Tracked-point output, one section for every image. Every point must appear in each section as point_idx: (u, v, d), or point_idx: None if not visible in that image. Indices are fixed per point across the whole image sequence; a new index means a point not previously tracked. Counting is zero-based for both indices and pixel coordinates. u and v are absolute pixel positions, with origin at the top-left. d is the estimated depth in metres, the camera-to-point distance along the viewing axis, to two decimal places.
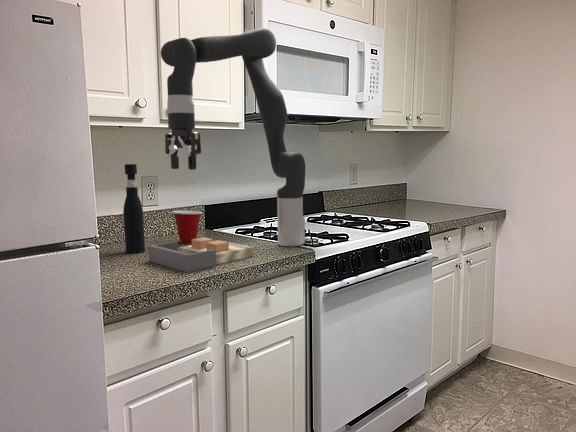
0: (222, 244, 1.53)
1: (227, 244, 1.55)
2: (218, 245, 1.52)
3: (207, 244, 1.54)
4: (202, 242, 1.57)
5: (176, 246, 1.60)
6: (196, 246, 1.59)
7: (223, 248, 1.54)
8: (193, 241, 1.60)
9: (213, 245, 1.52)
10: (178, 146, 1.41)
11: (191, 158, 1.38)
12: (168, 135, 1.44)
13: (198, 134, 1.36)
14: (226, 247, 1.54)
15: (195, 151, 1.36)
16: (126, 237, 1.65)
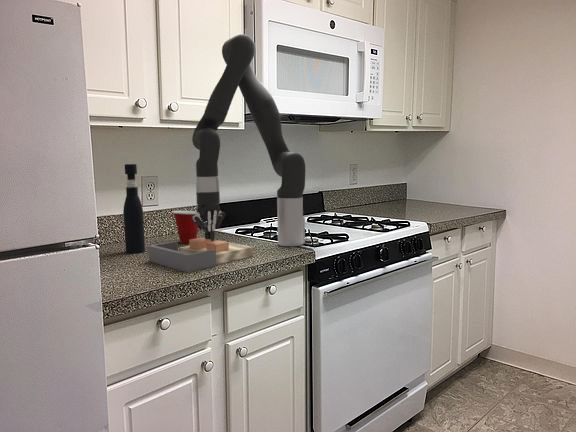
0: (222, 244, 1.53)
1: (227, 244, 1.55)
2: (218, 245, 1.52)
3: (207, 244, 1.54)
4: (200, 242, 1.57)
5: (176, 246, 1.60)
6: (194, 246, 1.58)
7: (223, 248, 1.54)
8: (191, 241, 1.59)
9: (213, 245, 1.52)
10: None
11: (213, 232, 1.63)
12: None
13: None
14: (226, 247, 1.54)
15: None
16: (126, 237, 1.65)
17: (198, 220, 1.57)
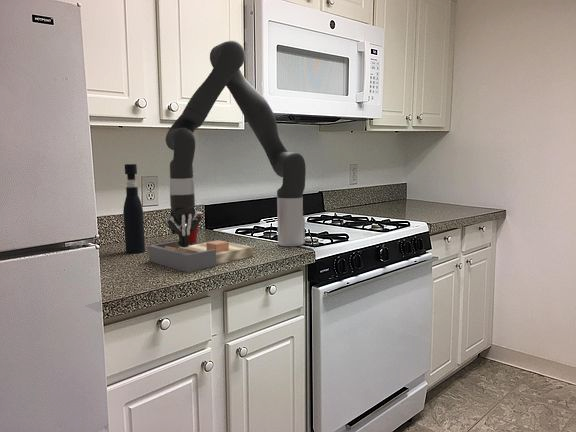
0: (222, 244, 1.53)
1: (227, 244, 1.55)
2: (218, 245, 1.52)
3: (207, 244, 1.54)
4: None
5: (176, 246, 1.60)
6: None
7: (223, 248, 1.54)
8: None
9: (213, 245, 1.52)
10: None
11: (188, 237, 1.55)
12: None
13: None
14: (226, 247, 1.54)
15: None
16: (126, 237, 1.65)
17: (171, 224, 1.50)
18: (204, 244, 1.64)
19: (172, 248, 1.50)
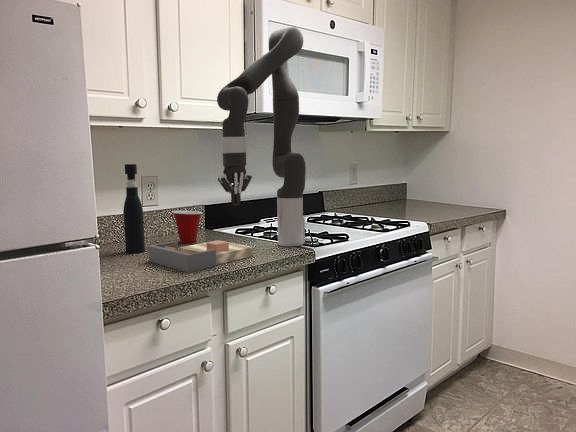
0: (222, 244, 1.53)
1: (227, 244, 1.55)
2: (218, 245, 1.52)
3: (207, 244, 1.54)
4: None
5: (176, 246, 1.60)
6: None
7: (223, 248, 1.54)
8: None
9: (213, 245, 1.52)
10: None
11: (239, 195, 1.59)
12: None
13: None
14: (226, 247, 1.54)
15: None
16: (126, 237, 1.65)
17: (225, 181, 1.53)
18: (204, 244, 1.64)
19: (172, 248, 1.50)
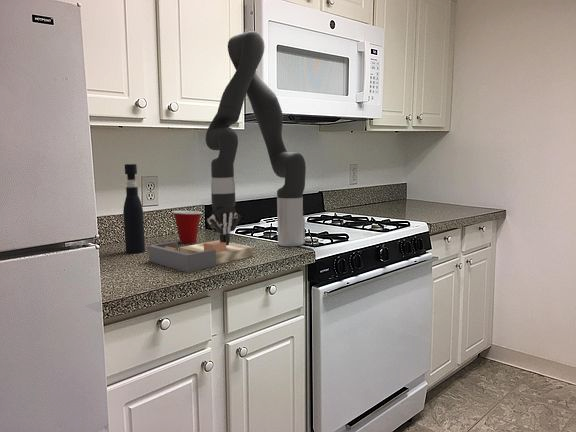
0: (219, 244, 1.52)
1: (224, 244, 1.54)
2: (215, 245, 1.51)
3: (204, 244, 1.54)
4: None
5: (176, 246, 1.60)
6: None
7: (220, 249, 1.53)
8: None
9: (210, 245, 1.52)
10: None
11: (228, 235, 1.57)
12: None
13: None
14: (223, 248, 1.54)
15: None
16: (126, 237, 1.65)
17: (213, 223, 1.52)
18: None
19: (172, 248, 1.50)
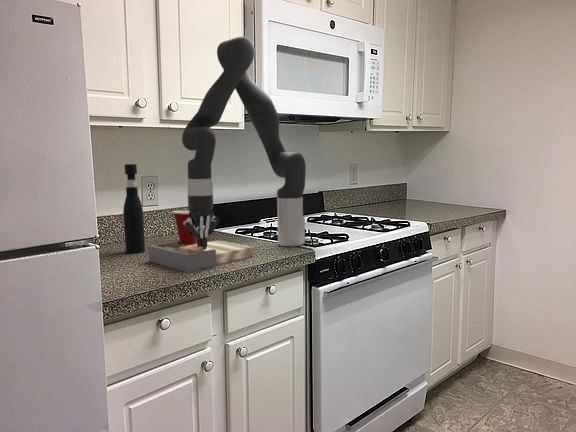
0: None
1: (198, 251, 1.47)
2: None
3: None
4: None
5: (176, 246, 1.60)
6: None
7: None
8: None
9: None
10: None
11: (206, 239, 1.51)
12: None
13: None
14: (201, 251, 1.48)
15: None
16: (126, 237, 1.65)
17: (189, 226, 1.45)
18: None
19: (172, 249, 1.50)
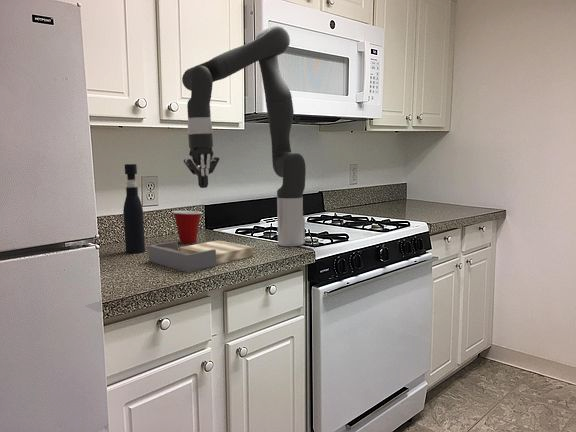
0: None
1: None
2: None
3: None
4: None
5: (176, 246, 1.60)
6: None
7: None
8: None
9: None
10: None
11: (207, 177, 1.56)
12: None
13: None
14: None
15: None
16: (126, 237, 1.65)
17: (191, 163, 1.50)
18: (204, 244, 1.64)
19: None
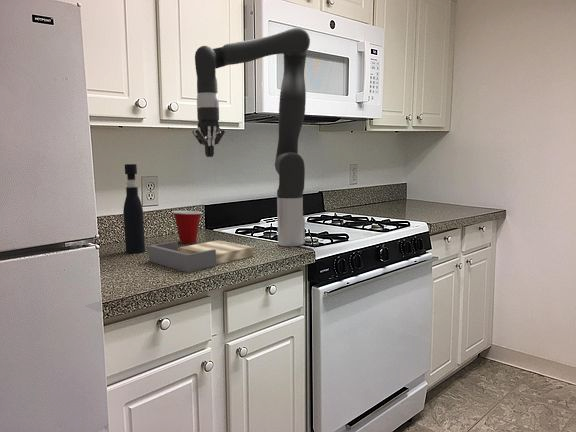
0: None
1: None
2: None
3: None
4: None
5: (176, 246, 1.60)
6: None
7: None
8: None
9: None
10: None
11: (213, 147, 1.73)
12: None
13: None
14: None
15: None
16: (126, 237, 1.65)
17: (199, 133, 1.67)
18: (204, 244, 1.64)
19: None
